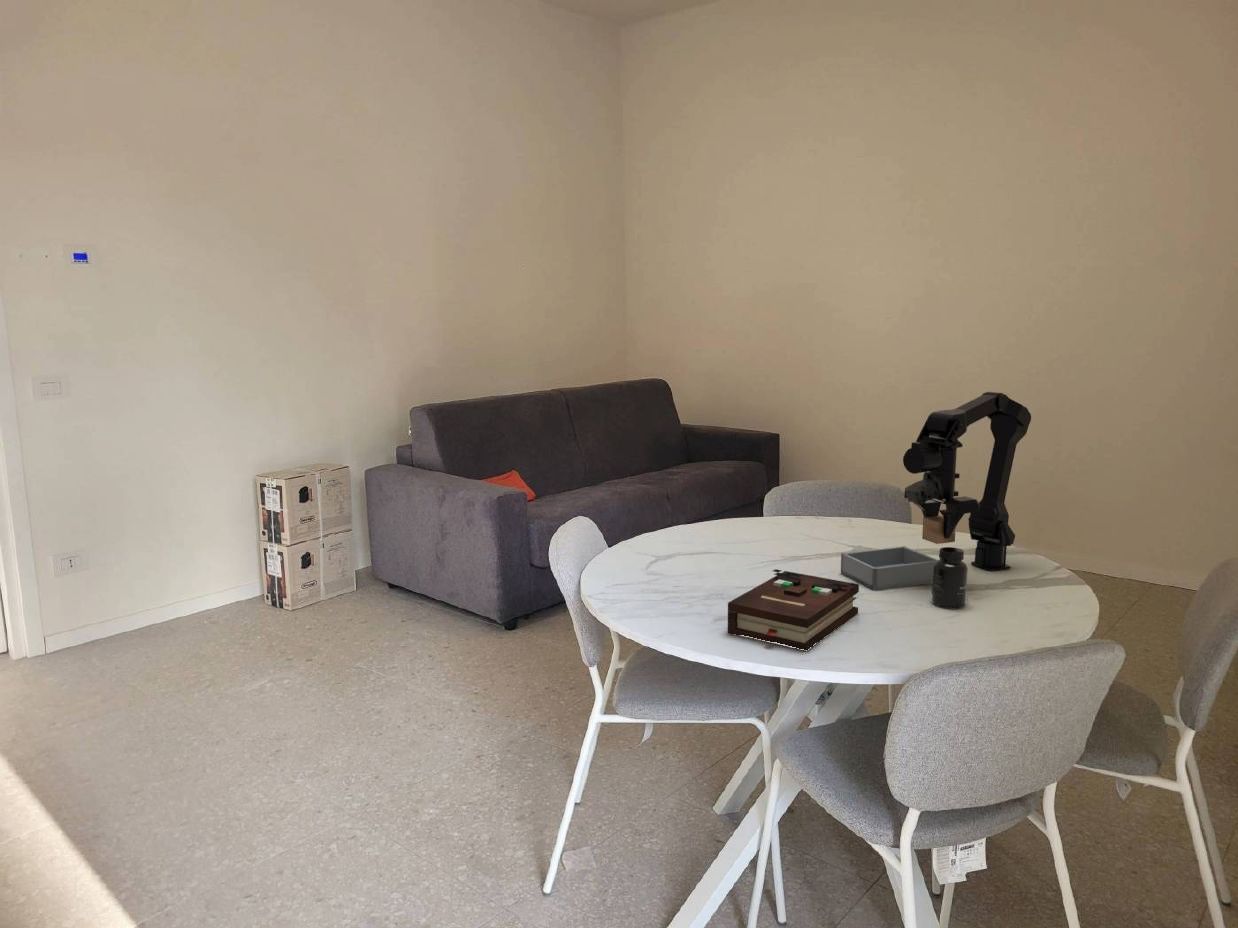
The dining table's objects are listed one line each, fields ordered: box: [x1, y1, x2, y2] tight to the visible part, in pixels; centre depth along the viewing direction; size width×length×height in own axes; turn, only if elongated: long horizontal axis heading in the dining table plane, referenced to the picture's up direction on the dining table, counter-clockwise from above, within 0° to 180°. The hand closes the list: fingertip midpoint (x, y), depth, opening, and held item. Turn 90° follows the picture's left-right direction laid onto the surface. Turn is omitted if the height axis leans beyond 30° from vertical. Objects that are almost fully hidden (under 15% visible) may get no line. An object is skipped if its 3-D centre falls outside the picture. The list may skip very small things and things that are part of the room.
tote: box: [840, 545, 939, 591], centre depth 213 cm, size 18×14×5 cm
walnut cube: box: [921, 515, 957, 545], centre depth 208 cm, size 5×5×5 cm
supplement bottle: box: [931, 546, 969, 609], centre depth 194 cm, size 7×7×12 cm
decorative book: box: [727, 569, 860, 651], centre depth 185 cm, size 19×8×30 cm
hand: (938, 535), depth 208 cm, fingers closed on walnut cube, 5 cm apart
